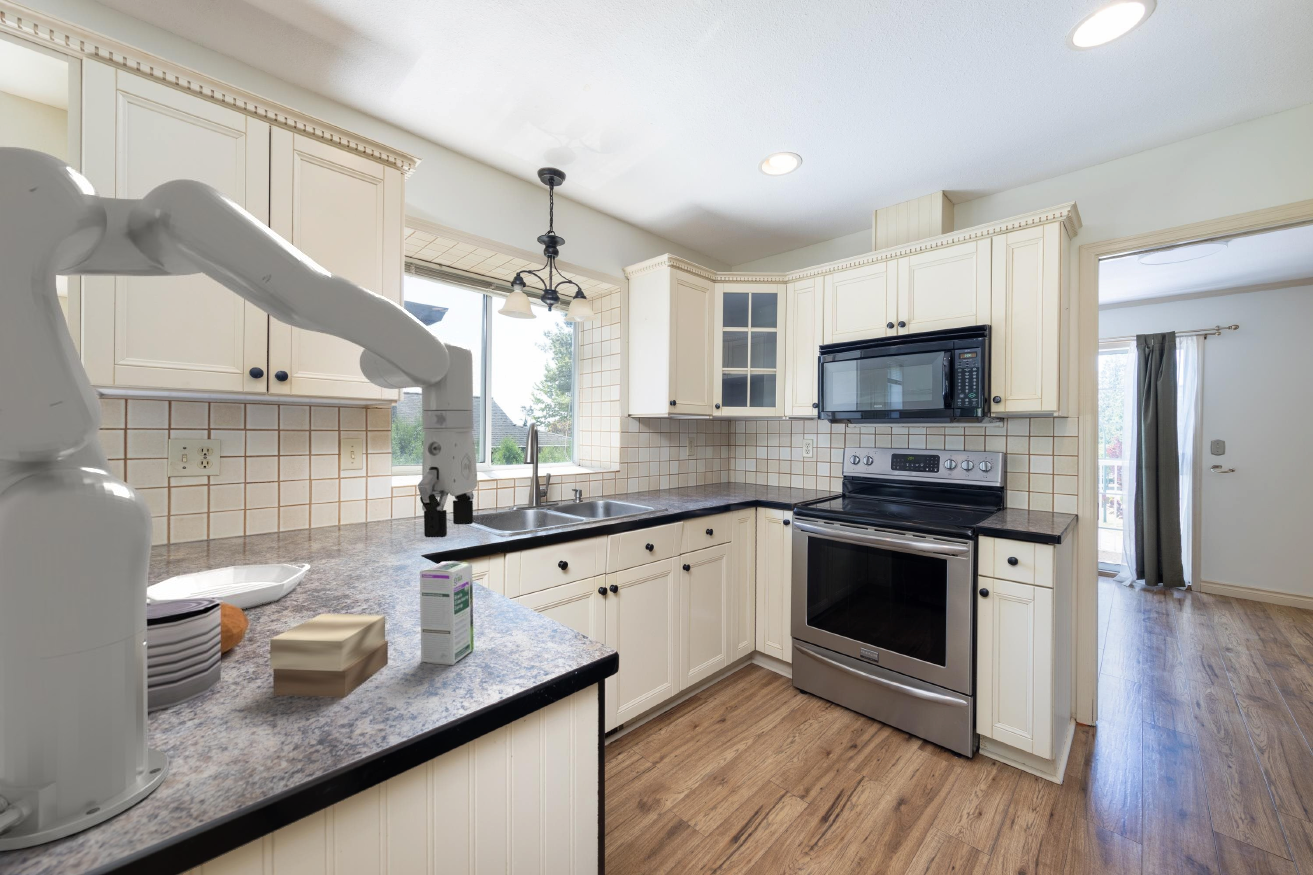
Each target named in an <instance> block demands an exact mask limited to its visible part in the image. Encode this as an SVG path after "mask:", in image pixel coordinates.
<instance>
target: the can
mask: <svg viewBox="0 0 1313 875" xmlns="http://www.w3.org/2000/svg"><path fill="white" fill-rule="evenodd" d="M222 601H223V600H219V599H216V598H202V599H190V600H178V601H171V602H166V603H160V604H154V605H150V604H148V605H147V679H148V713H150V712H155V711H159V710H164V709H168V708H174V707H177V706H179V705H181V704H185V703H187V702H189V701H192V700H194V699H197V698H199V697H201V696H204V695H206V694H208V693H209V692H211V690H213V689H214V688H215V687H216V686H217V685H219V684H220V683H221V681H222V678H221V676H222V674H221V673H222V669H221V668H222V666H221V665H222V661H221V660H222V657H221V656H222V654H221V605H220V604H219V603H220V602H222Z"/></svg>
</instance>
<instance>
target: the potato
mask: <svg viewBox="0 0 1313 875" xmlns="http://www.w3.org/2000/svg"><path fill="white" fill-rule="evenodd" d="M219 604H220V605H221V655H222V654H224V653H225V652H227V651H229V650H230V649H232V648H234V647H236V646H237V645H239V644H240V643H242V640H243V639H244V637H245V635H246V632H247V630H248V628H249V620H248V617H247V615H246V613H245V612H244V611H243V610H241V609H239V608H237V607H236V606H232V605H229V604H225V603H219Z"/></svg>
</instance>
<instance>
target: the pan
mask: <svg viewBox="0 0 1313 875" xmlns="http://www.w3.org/2000/svg"><path fill="white" fill-rule="evenodd" d="M301 567H302V568H301ZM309 569H311V565H310V564H308V563H298V564H293V565H291V564H288V563H287V564H286V563H269V564H250V565H249V564H247V565H232V566H227V567H221V568H215V569H209V570H204V571H199V572H192V573H187V574H181V575H177V576H173V577H170V578H167V579H164V580H162V581H160V582H157V583H155V584H153V585H150V586H147V605H154V604H160V603H166V602H171V601H178V600H190V599H202V598H216V599H219V600H223V601H222V602H220V603H225V604H229V605H232V606H236V607H237V608H239V609H241V610H242V609H243V610H247V609H251V608H255V607H258V606H263V605H266V604H270V602H271V603H274V601H275V602H277V601H279V600H280V599H282V598H283V597H286V595H288V594H289V593H291V592H293V591H294V590H295V589H296V587H297V585H298V584H299V583H300V582H301V581H302V580H303V579H304V577H306V576H305V575H306V573H307V570H309ZM262 604H263V605H262ZM246 608H247V609H246ZM243 610H242V611H243Z"/></svg>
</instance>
